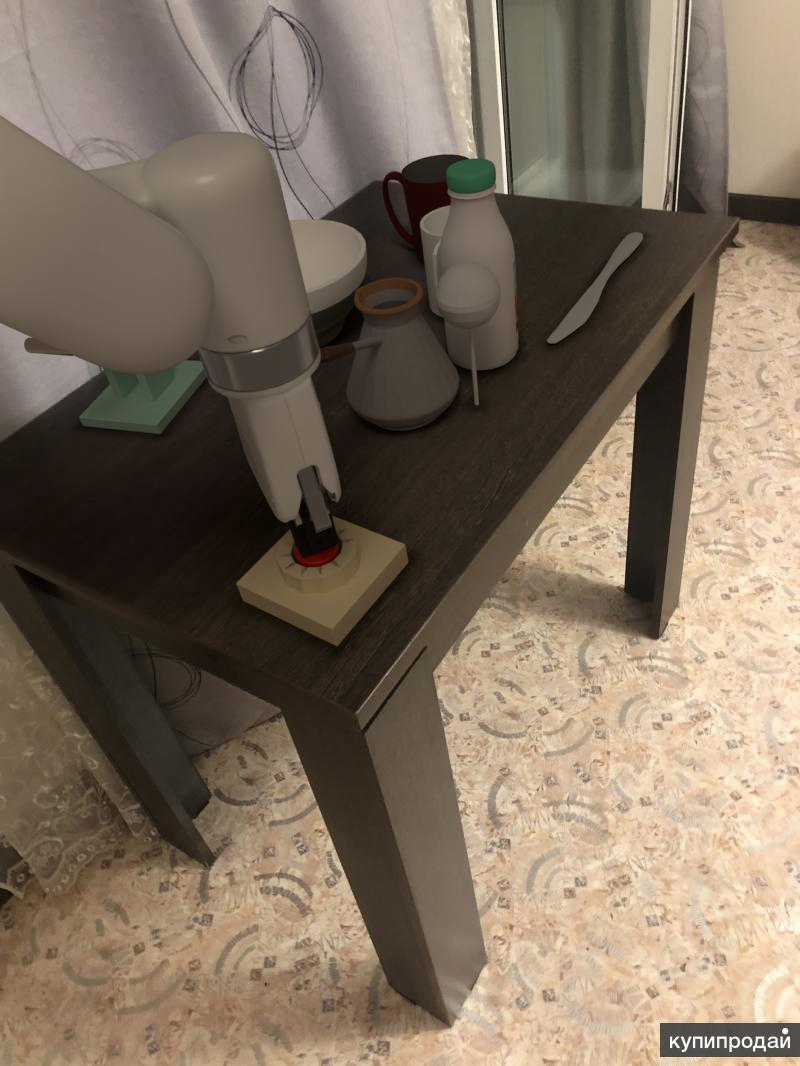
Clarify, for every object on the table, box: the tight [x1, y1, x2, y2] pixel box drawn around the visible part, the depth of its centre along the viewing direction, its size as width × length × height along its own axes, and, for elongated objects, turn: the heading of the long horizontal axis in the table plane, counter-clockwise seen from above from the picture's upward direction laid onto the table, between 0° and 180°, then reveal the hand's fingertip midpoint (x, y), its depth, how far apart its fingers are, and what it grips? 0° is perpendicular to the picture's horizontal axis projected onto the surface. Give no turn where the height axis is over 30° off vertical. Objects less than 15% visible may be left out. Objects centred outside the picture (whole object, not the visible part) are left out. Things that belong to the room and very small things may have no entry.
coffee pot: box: [320, 277, 460, 432], centre depth 76 cm, size 21×12×15 cm, turn 151°
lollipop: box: [435, 262, 501, 406], centre depth 77 cm, size 6×6×15 cm
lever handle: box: [23, 336, 74, 357], centre depth 81 cm, size 12×5×2 cm, turn 162°
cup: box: [420, 206, 450, 318], centre depth 93 cm, size 8×12×10 cm
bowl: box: [289, 218, 368, 349], centre depth 94 cm, size 20×20×10 cm
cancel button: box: [294, 543, 341, 567], centre depth 65 cm, size 4×4×2 cm
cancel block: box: [235, 515, 409, 647], centre depth 66 cm, size 10×10×4 cm
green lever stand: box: [78, 359, 207, 435], centre depth 88 cm, size 12×10×12 cm
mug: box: [381, 153, 470, 265], centre depth 104 cm, size 12×9×11 cm
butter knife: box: [546, 231, 644, 344], centre depth 96 cm, size 1×27×3 cm
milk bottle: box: [439, 157, 519, 371], centre depth 82 cm, size 8×8×20 cm
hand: (317, 545), depth 65 cm, fingers closed
